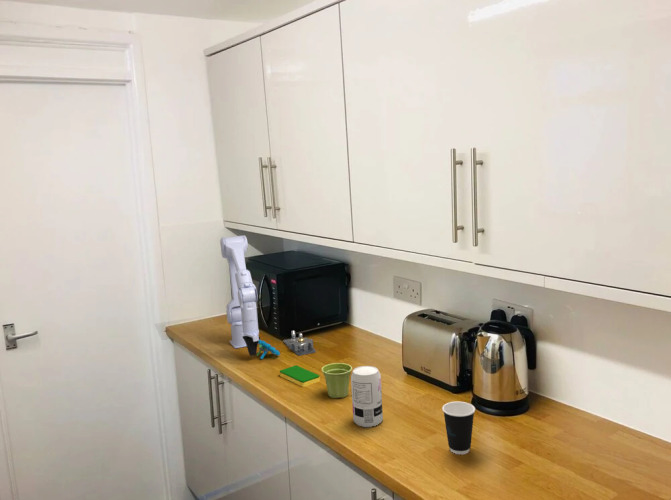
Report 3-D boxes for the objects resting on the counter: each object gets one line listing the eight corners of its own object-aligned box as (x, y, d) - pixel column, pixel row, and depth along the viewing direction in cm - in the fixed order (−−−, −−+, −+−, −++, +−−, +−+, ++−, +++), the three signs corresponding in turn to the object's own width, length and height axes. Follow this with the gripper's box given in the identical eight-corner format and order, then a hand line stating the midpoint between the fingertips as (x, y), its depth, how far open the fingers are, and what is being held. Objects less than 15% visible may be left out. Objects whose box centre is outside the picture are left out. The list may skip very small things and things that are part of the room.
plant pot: (334, 386, 190) (333, 360, 189) (359, 392, 185) (357, 365, 183) (317, 397, 183) (315, 370, 181) (342, 403, 177) (340, 376, 176)
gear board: (280, 343, 237) (279, 327, 235) (302, 339, 240) (301, 323, 239) (295, 356, 220) (294, 339, 219) (318, 351, 224) (317, 335, 223)
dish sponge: (296, 371, 206) (296, 364, 206) (320, 382, 196) (320, 375, 195) (279, 377, 202) (279, 370, 202) (303, 388, 191) (302, 381, 191)
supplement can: (348, 419, 167) (345, 368, 164) (374, 412, 170) (372, 363, 167) (361, 431, 159) (358, 378, 157) (388, 423, 163) (385, 372, 160)
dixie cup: (479, 445, 148) (479, 404, 146) (470, 460, 142) (470, 417, 140) (449, 439, 152) (448, 399, 150) (439, 454, 145) (437, 412, 143)
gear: (285, 353, 218) (265, 338, 214) (276, 367, 216) (256, 352, 212) (272, 350, 228) (253, 336, 224) (264, 363, 226) (244, 349, 222)
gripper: (234, 316, 221) (237, 351, 224) (243, 326, 208) (247, 362, 210) (252, 313, 224) (255, 347, 226) (263, 322, 211) (266, 359, 213)
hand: (252, 354), depth 219 cm, fingers closed, pressing on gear
